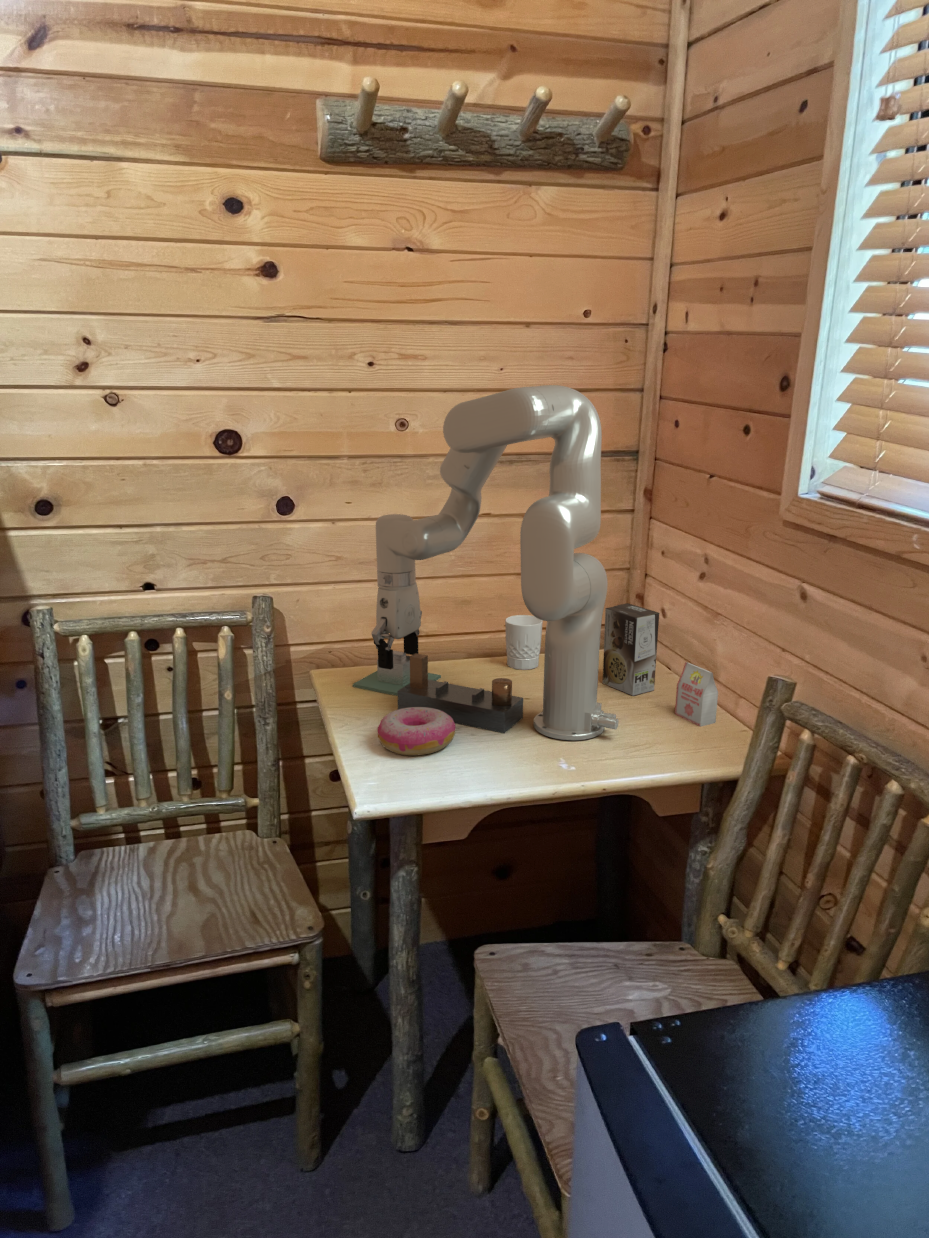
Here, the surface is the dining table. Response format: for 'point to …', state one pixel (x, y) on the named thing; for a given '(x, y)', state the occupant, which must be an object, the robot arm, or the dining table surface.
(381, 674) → the lever cap
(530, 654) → the white cup
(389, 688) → the rubber mat
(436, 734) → the donut
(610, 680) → the coffee box
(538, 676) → the dining table surface
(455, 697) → the plane body
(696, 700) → the white gable carton
